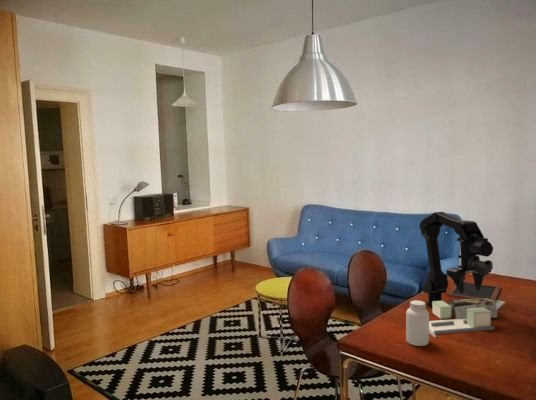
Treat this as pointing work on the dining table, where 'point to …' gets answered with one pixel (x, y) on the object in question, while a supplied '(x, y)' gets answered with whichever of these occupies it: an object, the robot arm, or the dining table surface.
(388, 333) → the dining table surface
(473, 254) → the robot arm
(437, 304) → the pale green box
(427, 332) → the pill bottle
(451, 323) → the shelf
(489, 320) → the faced box
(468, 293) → the picture frame
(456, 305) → the coffee box
